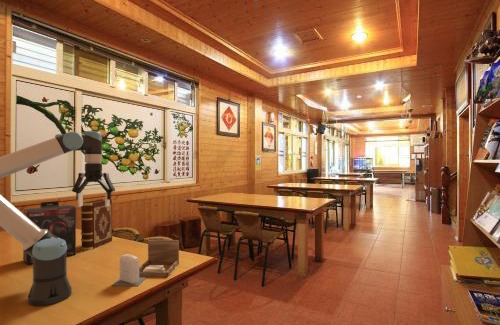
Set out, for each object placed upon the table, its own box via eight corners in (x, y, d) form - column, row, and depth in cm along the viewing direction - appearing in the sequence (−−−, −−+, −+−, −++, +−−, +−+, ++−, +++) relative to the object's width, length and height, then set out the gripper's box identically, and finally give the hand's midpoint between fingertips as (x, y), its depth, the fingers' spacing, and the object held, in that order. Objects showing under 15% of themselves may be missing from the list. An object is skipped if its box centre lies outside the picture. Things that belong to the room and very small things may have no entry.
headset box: (70, 250, 188) (70, 198, 187) (77, 255, 179) (76, 200, 179) (22, 260, 170) (22, 202, 170) (26, 265, 161) (26, 205, 161)
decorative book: (89, 250, 188) (89, 203, 188) (78, 249, 190) (78, 203, 189) (112, 240, 210) (112, 199, 210) (102, 240, 212) (102, 198, 211)
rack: (168, 277, 144) (167, 250, 144) (134, 276, 144) (134, 250, 144) (178, 263, 163) (178, 240, 162) (149, 263, 163) (148, 240, 163)
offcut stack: (161, 276, 144) (161, 269, 144) (141, 276, 145) (141, 269, 145) (165, 271, 151) (165, 264, 151) (146, 271, 151) (146, 264, 151)
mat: (137, 286, 134) (137, 285, 134) (112, 285, 134) (112, 284, 134) (145, 278, 143) (145, 277, 143) (121, 277, 143) (121, 277, 143)
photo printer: (140, 281, 138) (140, 255, 138) (133, 284, 134) (133, 257, 134) (126, 277, 143) (126, 251, 143) (118, 280, 139) (118, 254, 139)
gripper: (122, 162, 148) (122, 205, 148) (73, 163, 149) (74, 205, 149) (114, 162, 140) (114, 207, 140) (63, 163, 141) (64, 207, 141)
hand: (93, 206), depth 144 cm, fingers open, 13 cm apart
